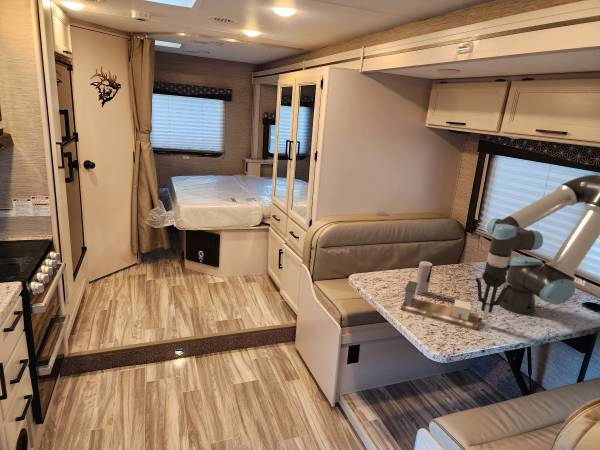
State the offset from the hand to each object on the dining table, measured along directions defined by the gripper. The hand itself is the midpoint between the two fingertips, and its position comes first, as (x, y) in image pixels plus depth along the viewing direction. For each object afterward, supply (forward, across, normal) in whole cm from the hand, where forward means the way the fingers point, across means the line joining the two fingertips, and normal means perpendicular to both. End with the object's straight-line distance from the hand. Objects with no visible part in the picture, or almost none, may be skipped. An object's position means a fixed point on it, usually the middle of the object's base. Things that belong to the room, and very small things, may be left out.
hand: (484, 318), depth 158 cm
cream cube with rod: (+1, +9, +1) cm, 9 cm away
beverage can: (+3, +27, -16) cm, 31 cm away
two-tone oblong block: (+2, +30, -1) cm, 30 cm away
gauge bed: (+3, +17, 0) cm, 17 cm away
